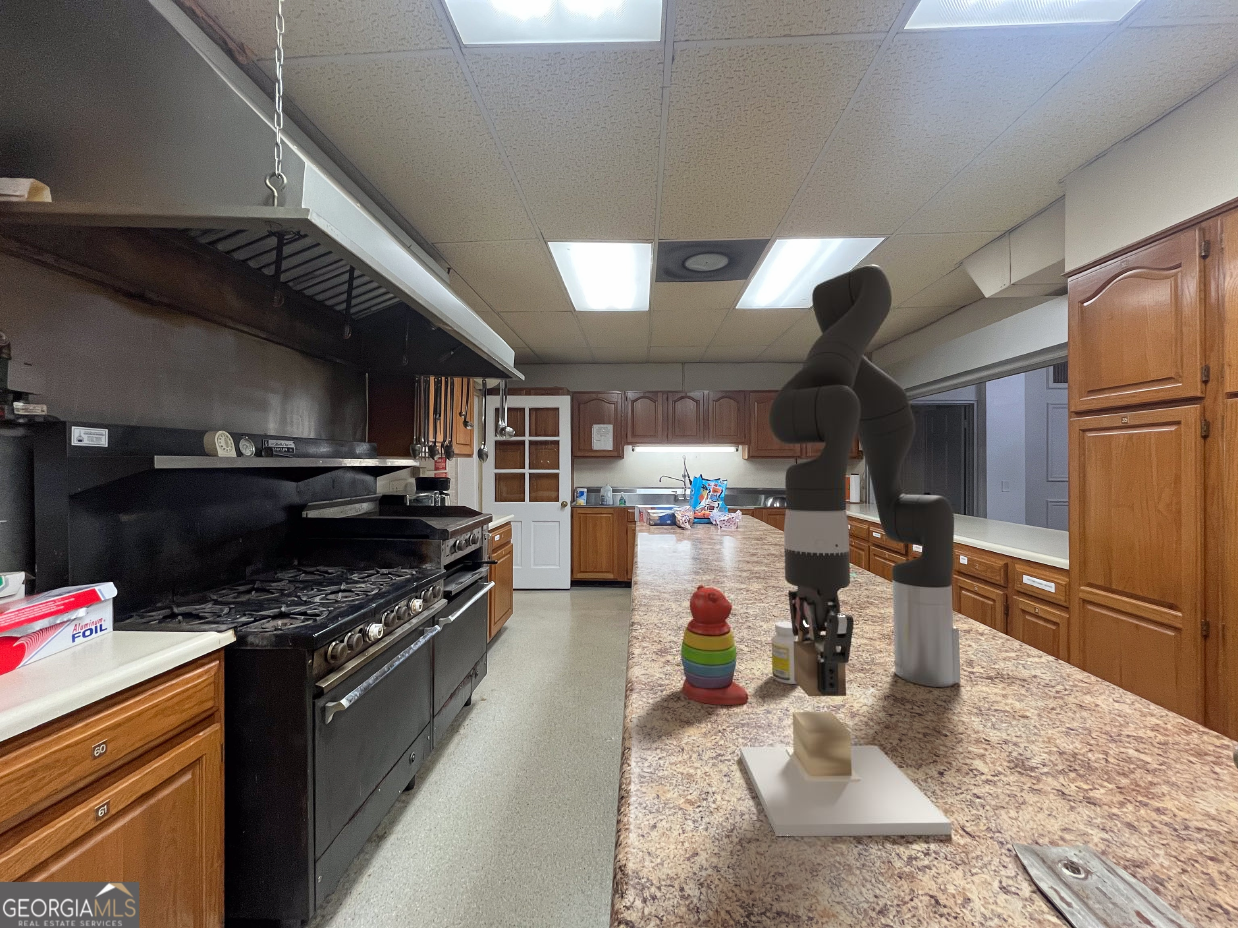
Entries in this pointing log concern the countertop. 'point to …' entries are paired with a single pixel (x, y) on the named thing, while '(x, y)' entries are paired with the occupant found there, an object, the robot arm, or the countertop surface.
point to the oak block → (822, 744)
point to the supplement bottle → (783, 653)
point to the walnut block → (813, 669)
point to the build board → (840, 796)
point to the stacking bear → (710, 651)
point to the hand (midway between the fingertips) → (818, 683)
